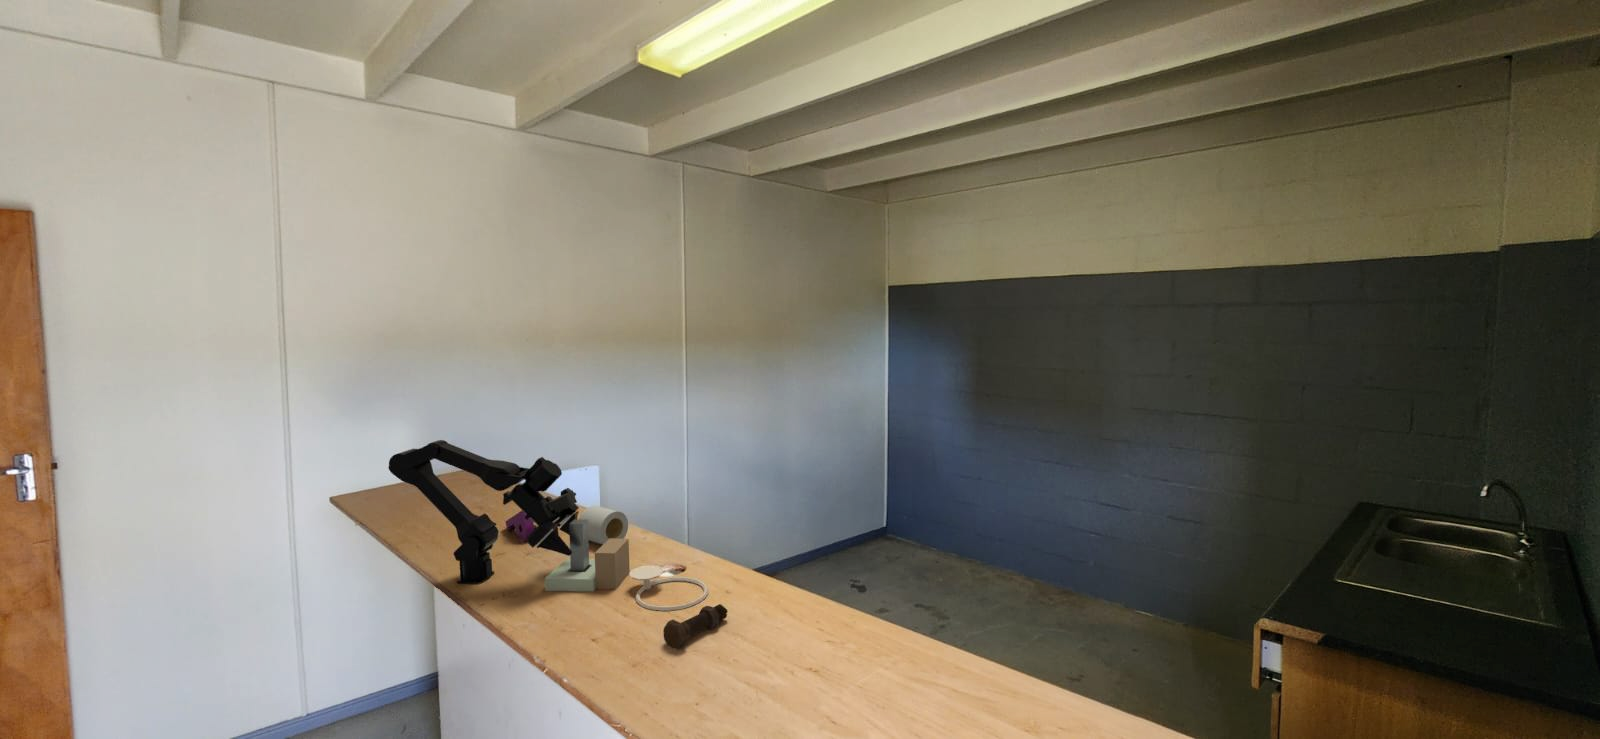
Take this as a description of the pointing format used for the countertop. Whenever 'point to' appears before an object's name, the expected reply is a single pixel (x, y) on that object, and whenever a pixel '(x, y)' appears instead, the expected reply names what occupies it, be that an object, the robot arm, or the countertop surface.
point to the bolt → (693, 625)
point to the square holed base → (594, 570)
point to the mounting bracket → (521, 525)
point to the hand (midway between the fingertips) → (578, 547)
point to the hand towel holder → (653, 572)
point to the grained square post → (579, 545)
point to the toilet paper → (604, 524)
